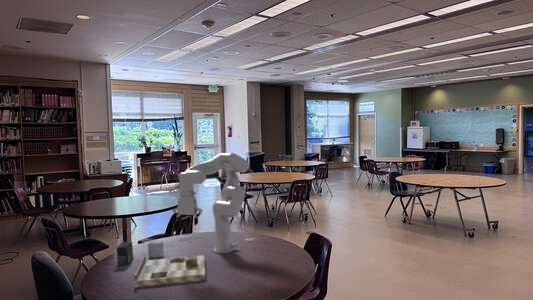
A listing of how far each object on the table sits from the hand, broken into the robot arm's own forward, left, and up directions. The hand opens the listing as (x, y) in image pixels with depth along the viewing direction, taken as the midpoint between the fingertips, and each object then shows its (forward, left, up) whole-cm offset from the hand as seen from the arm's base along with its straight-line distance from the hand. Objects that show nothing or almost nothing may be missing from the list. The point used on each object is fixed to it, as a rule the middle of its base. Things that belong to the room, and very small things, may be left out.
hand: (187, 224), depth 204 cm
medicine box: (+21, -21, -24) cm, 38 cm away
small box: (+38, -16, -24) cm, 47 cm away
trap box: (+9, +9, -23) cm, 26 cm away
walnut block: (-1, +9, -20) cm, 22 cm away
